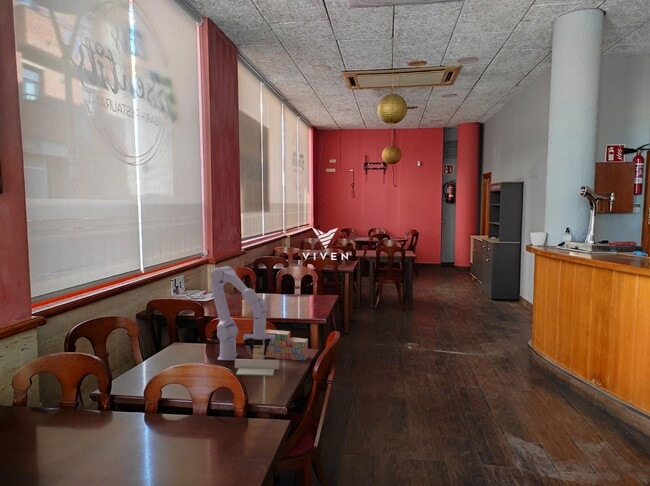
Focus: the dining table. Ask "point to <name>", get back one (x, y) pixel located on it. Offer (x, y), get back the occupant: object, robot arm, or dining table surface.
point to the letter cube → (258, 352)
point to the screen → (257, 363)
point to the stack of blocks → (286, 346)
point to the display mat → (255, 371)
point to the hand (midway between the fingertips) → (258, 354)
